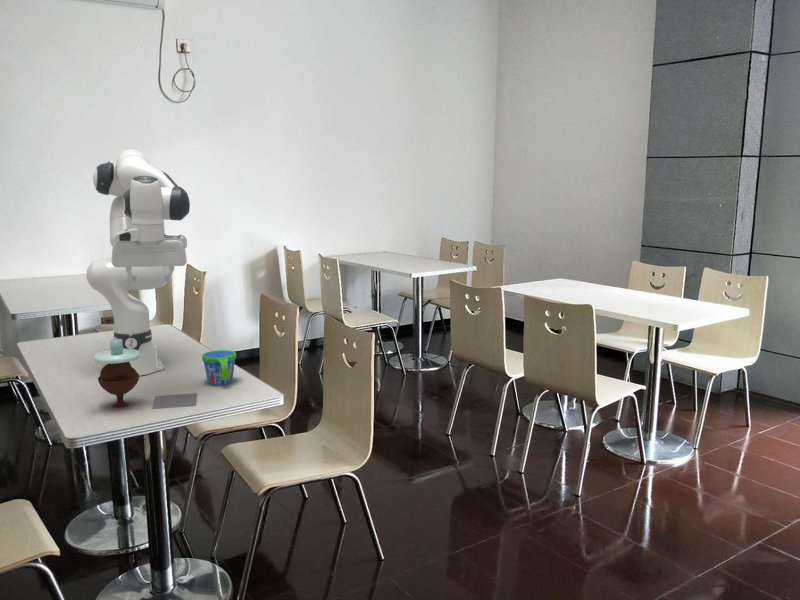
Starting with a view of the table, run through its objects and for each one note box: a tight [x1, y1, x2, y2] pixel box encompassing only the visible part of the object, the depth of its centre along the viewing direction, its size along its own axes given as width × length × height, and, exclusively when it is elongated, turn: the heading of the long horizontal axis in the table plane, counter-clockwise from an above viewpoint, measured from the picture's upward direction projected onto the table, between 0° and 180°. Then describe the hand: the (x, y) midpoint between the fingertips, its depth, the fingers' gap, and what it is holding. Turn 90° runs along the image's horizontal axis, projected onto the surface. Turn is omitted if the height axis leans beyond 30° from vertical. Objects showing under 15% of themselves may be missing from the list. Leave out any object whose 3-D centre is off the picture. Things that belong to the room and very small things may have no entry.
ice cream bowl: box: [97, 362, 140, 409], centre depth 199 cm, size 11×11×15 cm
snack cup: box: [201, 349, 237, 387], centre depth 222 cm, size 16×10×10 cm
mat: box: [151, 392, 198, 410], centre depth 205 cm, size 12×12×1 cm
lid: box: [93, 338, 140, 365], centre depth 197 cm, size 12×12×5 cm
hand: (151, 281), depth 201 cm, fingers open, 8 cm apart
